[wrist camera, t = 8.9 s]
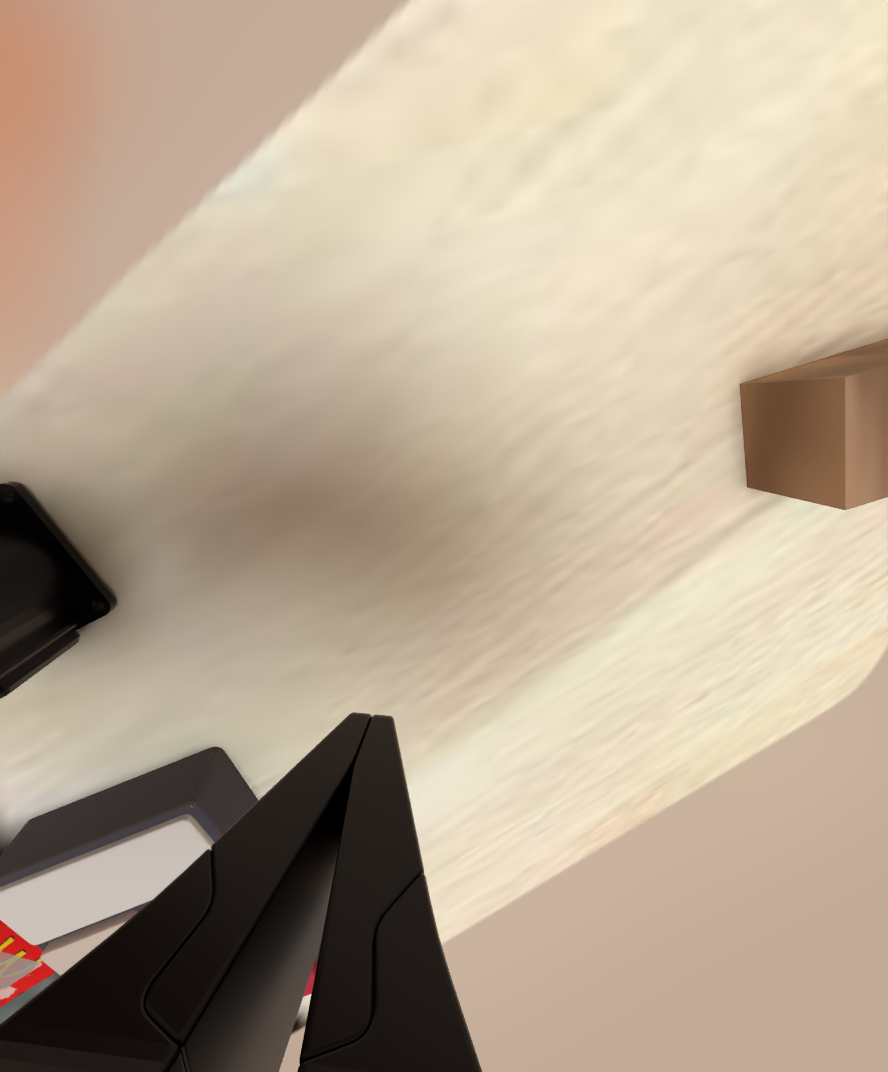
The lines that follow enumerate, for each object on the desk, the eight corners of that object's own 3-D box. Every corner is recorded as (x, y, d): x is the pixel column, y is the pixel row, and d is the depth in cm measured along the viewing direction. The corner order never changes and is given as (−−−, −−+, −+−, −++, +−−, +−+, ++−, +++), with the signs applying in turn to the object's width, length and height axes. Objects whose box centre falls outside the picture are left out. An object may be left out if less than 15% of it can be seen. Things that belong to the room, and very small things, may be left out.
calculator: (152, 1067, 24) (-51, 910, 19) (186, 969, 28) (26, 817, 23) (338, 995, 24) (185, 817, 19) (345, 906, 28) (221, 740, 23)
